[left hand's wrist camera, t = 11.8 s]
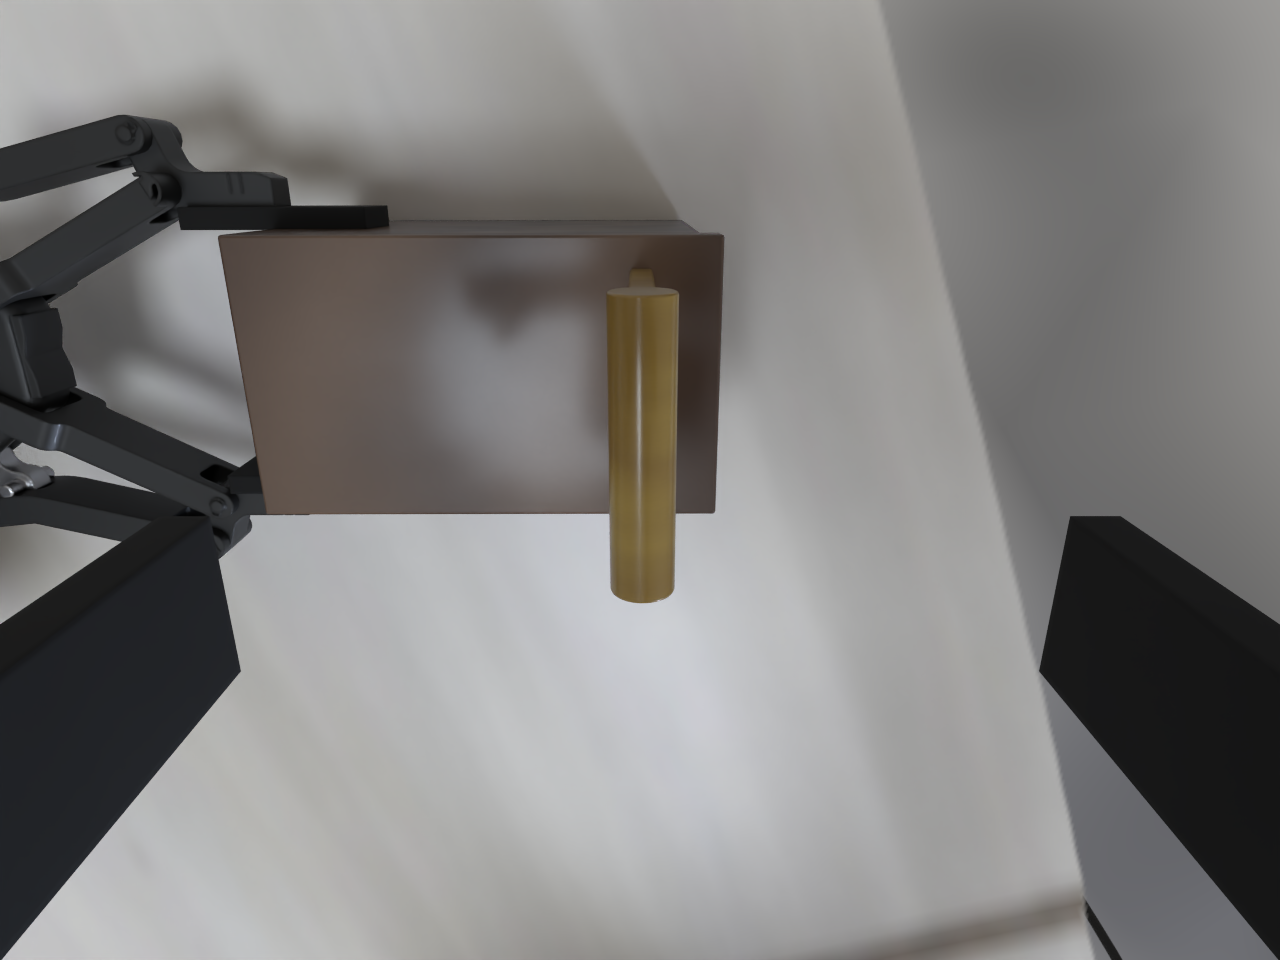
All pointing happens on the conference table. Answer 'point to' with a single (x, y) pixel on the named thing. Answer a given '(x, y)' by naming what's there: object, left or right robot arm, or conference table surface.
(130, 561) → the left robot arm
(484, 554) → the conference table surface
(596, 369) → the lid
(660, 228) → the chest
